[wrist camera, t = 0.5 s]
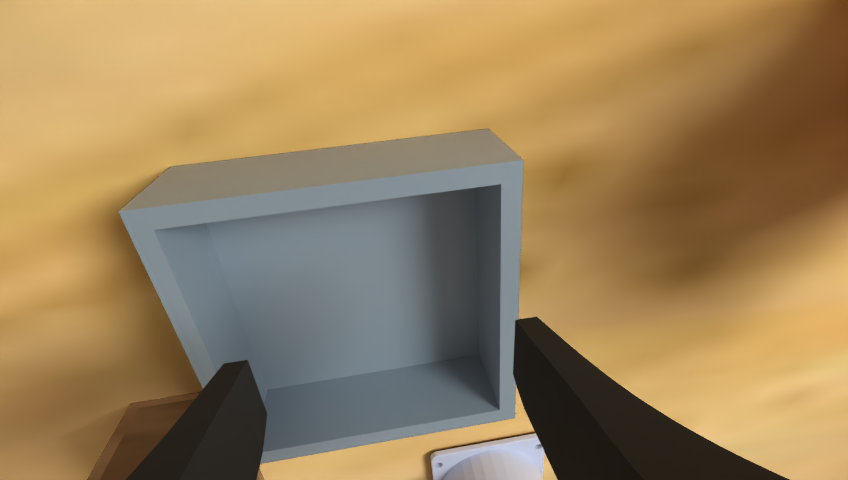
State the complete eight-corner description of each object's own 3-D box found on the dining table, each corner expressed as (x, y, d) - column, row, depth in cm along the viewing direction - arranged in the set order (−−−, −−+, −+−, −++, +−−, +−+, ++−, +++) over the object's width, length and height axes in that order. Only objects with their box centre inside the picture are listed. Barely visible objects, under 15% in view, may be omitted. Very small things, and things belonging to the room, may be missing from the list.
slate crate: (490, 355, 26) (514, 418, 22) (258, 393, 24) (240, 467, 20) (488, 128, 19) (523, 159, 15) (170, 166, 18) (118, 211, 14)
